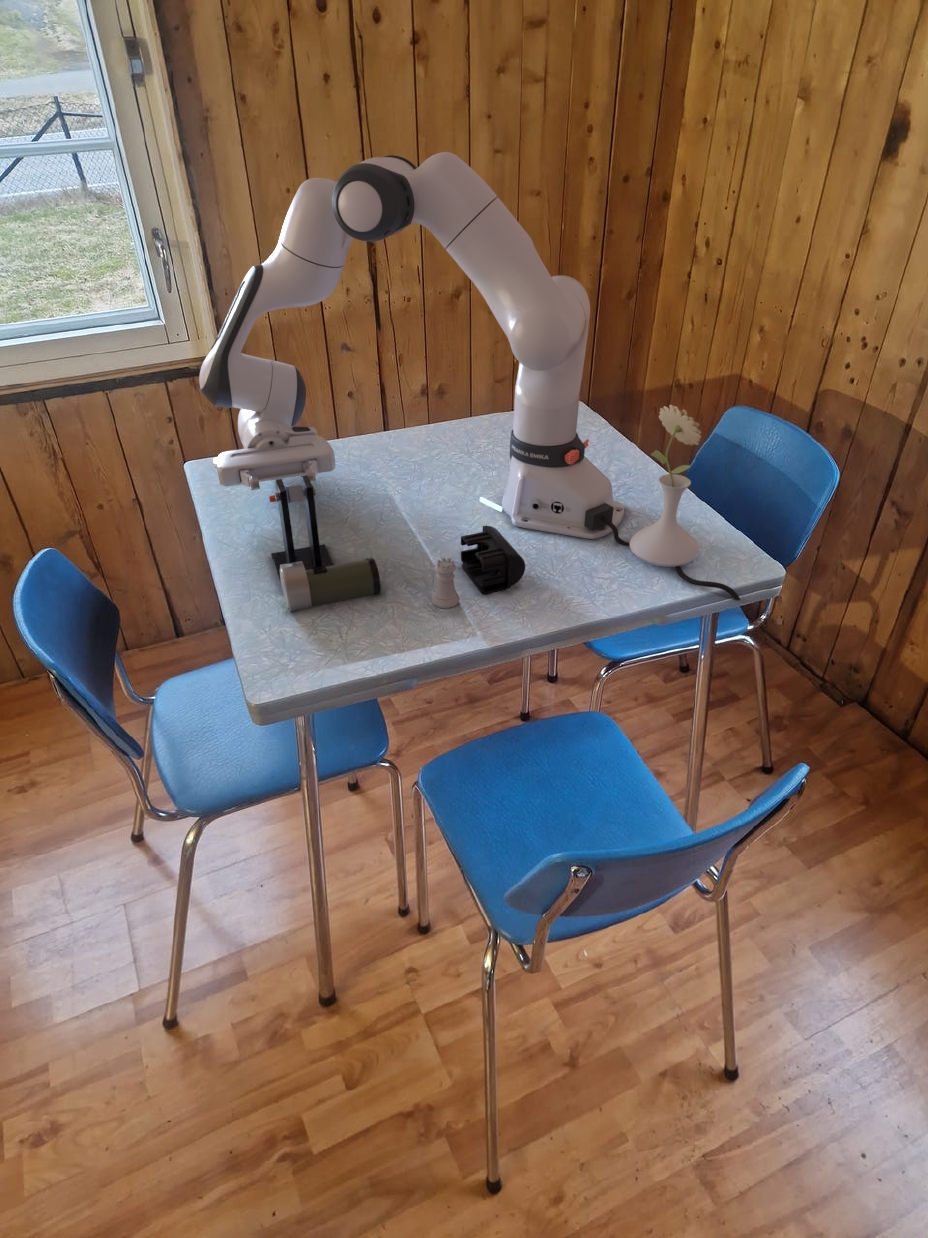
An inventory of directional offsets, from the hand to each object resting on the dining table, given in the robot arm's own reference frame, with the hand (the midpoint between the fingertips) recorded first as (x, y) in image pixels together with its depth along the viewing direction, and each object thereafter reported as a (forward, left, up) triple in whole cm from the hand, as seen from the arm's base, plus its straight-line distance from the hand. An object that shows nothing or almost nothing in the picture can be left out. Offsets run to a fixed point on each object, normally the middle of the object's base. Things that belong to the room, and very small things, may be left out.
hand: (283, 481), depth 140 cm
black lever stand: (-10, +9, -10) cm, 16 cm away
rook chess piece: (-35, +6, -10) cm, 37 cm away
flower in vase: (-58, -26, -10) cm, 65 cm away
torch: (-19, +13, -10) cm, 25 cm away
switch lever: (-6, +5, 0) cm, 8 cm away
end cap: (-37, -5, -10) cm, 39 cm away
